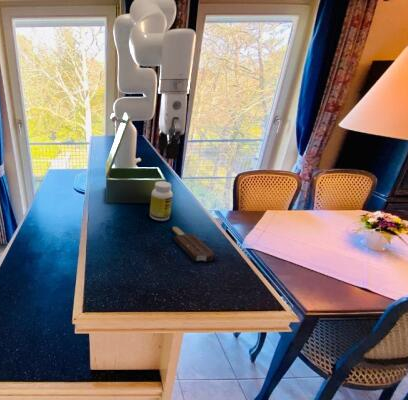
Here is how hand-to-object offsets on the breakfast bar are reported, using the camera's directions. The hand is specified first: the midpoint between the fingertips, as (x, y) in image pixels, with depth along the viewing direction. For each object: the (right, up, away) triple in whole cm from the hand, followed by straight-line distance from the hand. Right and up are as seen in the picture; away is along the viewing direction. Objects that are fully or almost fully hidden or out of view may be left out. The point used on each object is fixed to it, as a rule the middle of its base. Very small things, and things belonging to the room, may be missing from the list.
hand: (166, 153), depth 74 cm
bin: (-6, -11, +23) cm, 27 cm away
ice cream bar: (+4, -25, -4) cm, 26 cm away
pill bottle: (0, -18, +9) cm, 21 cm away
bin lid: (-13, +6, +15) cm, 21 cm away
